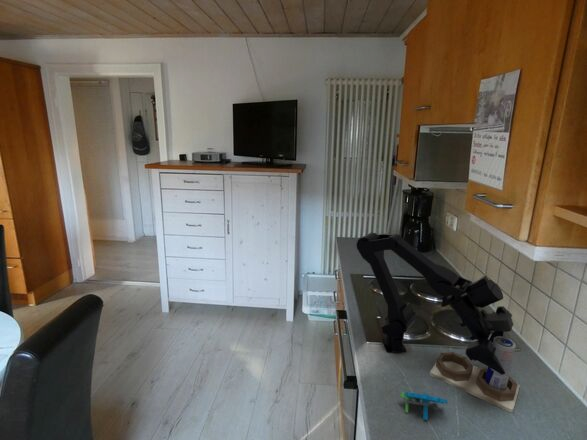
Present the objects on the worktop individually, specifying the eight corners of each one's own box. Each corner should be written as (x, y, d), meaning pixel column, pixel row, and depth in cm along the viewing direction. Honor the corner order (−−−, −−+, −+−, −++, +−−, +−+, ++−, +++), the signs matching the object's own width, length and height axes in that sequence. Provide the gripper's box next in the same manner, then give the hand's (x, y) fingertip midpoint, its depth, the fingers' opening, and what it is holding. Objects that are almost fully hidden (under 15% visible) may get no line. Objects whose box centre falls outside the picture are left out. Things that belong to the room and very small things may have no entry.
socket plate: (429, 374, 101) (430, 365, 100) (441, 355, 109) (443, 346, 108) (512, 413, 88) (514, 402, 87) (519, 388, 96) (521, 377, 95)
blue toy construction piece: (447, 398, 91) (446, 395, 83) (447, 424, 88) (446, 423, 80) (403, 390, 95) (398, 387, 87) (402, 415, 93) (397, 413, 85)
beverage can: (502, 382, 97) (512, 336, 93) (508, 396, 92) (519, 349, 88) (482, 379, 98) (491, 334, 94) (487, 392, 93) (497, 346, 89)
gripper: (487, 317, 83) (532, 376, 80) (502, 288, 97) (541, 337, 93) (448, 332, 90) (488, 387, 87) (468, 303, 104) (503, 350, 101)
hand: (507, 364), depth 92 cm, fingers open, 9 cm apart
